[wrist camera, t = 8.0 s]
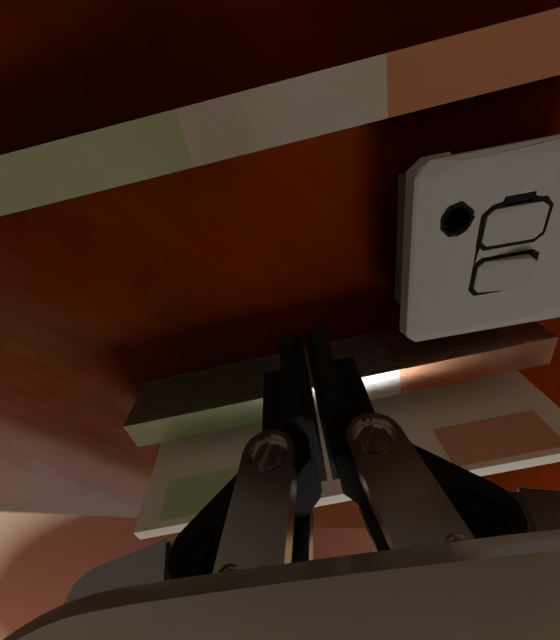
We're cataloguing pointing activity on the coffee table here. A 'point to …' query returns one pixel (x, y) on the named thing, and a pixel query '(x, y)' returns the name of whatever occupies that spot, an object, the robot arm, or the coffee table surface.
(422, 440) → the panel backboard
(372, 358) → the far rail
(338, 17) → the coffee table surface
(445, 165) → the electrical switch
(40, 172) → the near rail
